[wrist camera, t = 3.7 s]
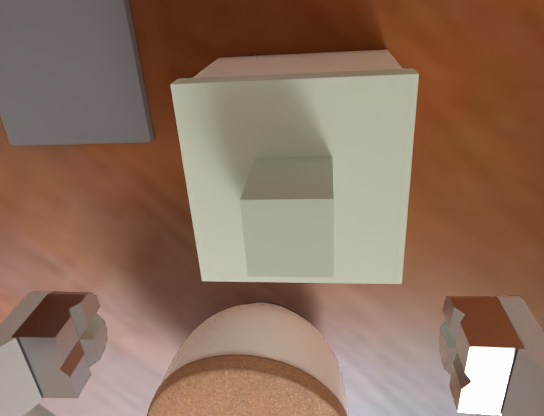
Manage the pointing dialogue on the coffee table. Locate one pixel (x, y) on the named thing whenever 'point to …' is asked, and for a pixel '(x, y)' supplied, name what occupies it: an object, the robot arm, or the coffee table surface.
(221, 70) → the cream box
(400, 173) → the lid
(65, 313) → the robot arm
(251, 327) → the lidded jar
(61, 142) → the mat
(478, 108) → the coffee table surface
